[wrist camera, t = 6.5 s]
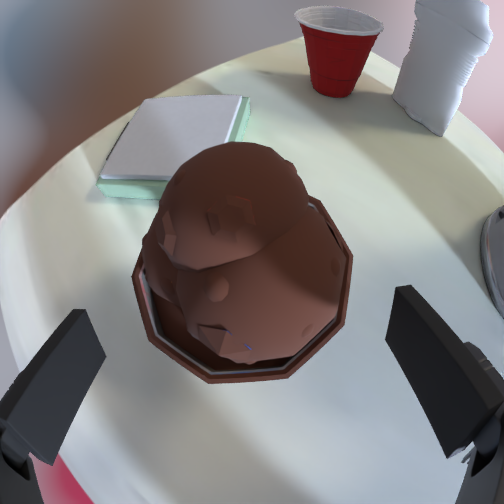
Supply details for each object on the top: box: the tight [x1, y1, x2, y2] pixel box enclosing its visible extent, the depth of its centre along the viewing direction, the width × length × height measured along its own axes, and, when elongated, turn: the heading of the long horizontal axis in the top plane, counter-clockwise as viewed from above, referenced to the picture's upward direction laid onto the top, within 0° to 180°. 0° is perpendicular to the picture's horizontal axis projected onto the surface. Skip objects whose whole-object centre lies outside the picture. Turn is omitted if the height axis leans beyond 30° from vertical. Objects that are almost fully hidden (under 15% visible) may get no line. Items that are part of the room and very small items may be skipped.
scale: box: [96, 95, 250, 200], centre depth 28 cm, size 15×14×3 cm
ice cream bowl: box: [131, 141, 353, 384], centre depth 15 cm, size 11×11×15 cm
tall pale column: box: [392, 0, 493, 137], centre depth 20 cm, size 11×4×22 cm, turn 32°
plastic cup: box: [294, 6, 384, 98], centre depth 27 cm, size 11×11×12 cm
